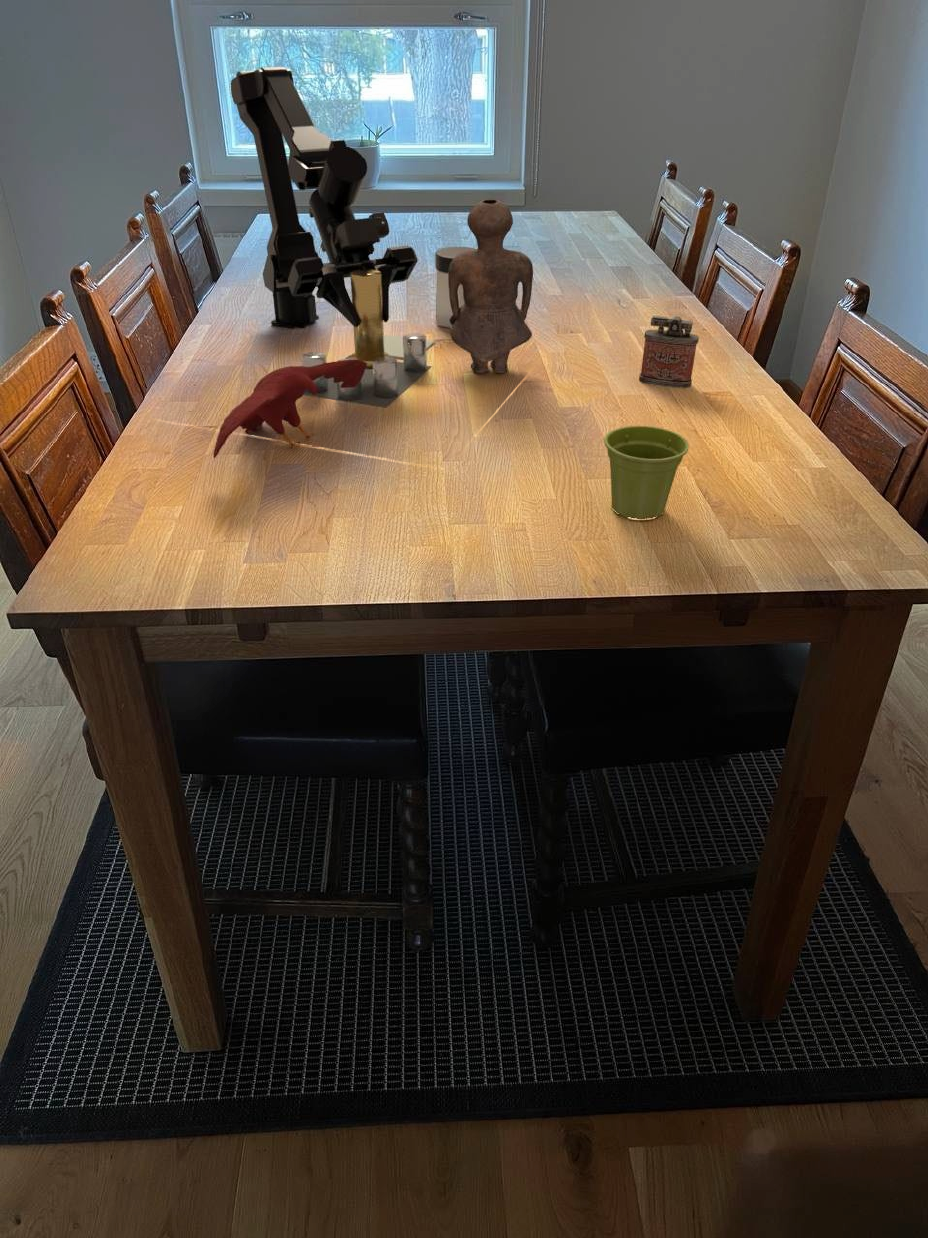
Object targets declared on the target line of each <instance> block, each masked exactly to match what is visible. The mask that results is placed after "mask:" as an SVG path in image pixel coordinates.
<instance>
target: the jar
mask: <svg viewBox="0 0 928 1238" xmlns="http://www.w3.org/2000/svg"><path fill="white" fill-rule="evenodd" d="M477 249H478V248H474V247H467V246H449V247H447V246H446V247H442V248H440V249H437V250H436V251H435V253H434V254H435V255H434V258H435V259H434V260H435V261H434V263H435V265H434V266H435V267H434V268H435V317H436V318H435V319H436V325H437V326H438V327H442V328H447V329H451V327H452V324H451V323H450V318H451V316H452V315H453V313H452V309H451V305H450V298H449V285H448V272H449V266H450V264H451V262H452V260H453V259H454V258H455V257H456V256H457V255H458V254H460V253H463V252H467V251H473V250H477ZM458 299H459V308H460V307H462V306H463V305H464V303H465V302H464V297H463V286H462V284H460V285H459V287H458Z"/></svg>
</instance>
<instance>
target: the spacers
mask: <svg viewBox="0 0 928 1238" xmlns="http://www.w3.org/2000/svg"><path fill="white" fill-rule="evenodd" d="M402 337H403V356H404V359H403V363H404V370H405V371H407V372H412V373H418V372H423V371H425V370H426V369H427V366H428V365H427V363H428V362H427V361H428V359H427V350H426V340H427V336H426V335H425V334H423V333H414V332H413V333H406V334H405V335H403V336H402ZM300 358H301V359H300V360H301V366H305V367H311V366H316V365H320V364H324V363H327V356H326V354H325V353H323V352H317V351H313V352H311V351H310V352H306V353H303V354H302V355H300ZM342 360H355V359H345V358H343V359H339V360H338V361H342ZM397 362H398V358H393V357H378V358H375V359H373V361H372V363H373V383H374V395H375V396H376V397H378V398H393V397H396V396H397V395H398V369H397ZM313 382H314V384H315V385H316V387H317V390H318V391H317V394H319V393H323V392H326V391H327V390H328V379H326V378H324V375H323V376H321V377H319V378H317V379H315V380H313ZM342 383H343V382H339V383H337V395H338V398H339V399H340V400H344V401H343V402H346V401H354V400H358V399H360V398H361V397H362V385H361V380H360V382H359V383H358V384H357V385H356V386H355V387H347V388H341V385H342ZM305 392H307V393H311V392H310V391H308V390H306V391H305ZM340 400H339V401H340Z"/></svg>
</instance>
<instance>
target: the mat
mask: <svg viewBox="0 0 928 1238" xmlns="http://www.w3.org/2000/svg"><path fill="white" fill-rule="evenodd" d="M351 355H352V354H349V355H348V356H346V357H345V358H344V359H351ZM432 367H433V366H432V365H431V366H430V365H427V369H426V370H425V371H423V372H418V373H412V372H407V371H405V370H404V361H403V362H401V361H397V369H398V395H397V396H396V397H393V398H378V397H376V396H375V395H374V383H373V369H365V371H364V374H363V376H362V379H361V385H362V397H361V398H360V399H358V400H354V401H344V400H340V399H339V398H338V395H337V383H334V382H333V381H334V378H329V379H328V390H327V391H326V392H323V393H319V394H317V396H315V395H314V394H312V393H307V392H304V394H303V396H307V397H308V396H309V397H313V398H314V397H315V398H323V399H327V400H335V401H339V402H346V403H353V404H354V403H355V404H359V405H360V404H361V405H367V406H374V407H378V408H379V407H380V408H388V407H389V406H390V405H391V404H392V403H394V401H396V400H397V399H398V398H399V397H400V396H401V395H402V394H403V393H404V392H406V391H407V390H408V389H409V388H410V387H411V386H412V385H413V384H414V383H415V382H417V381H418V380H419V379H420V378H421V377H422V376H423V375H424V374H425V373H427V372H428V371H429V370H430V369H431V368H432Z"/></svg>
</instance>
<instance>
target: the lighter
mask: <svg viewBox="0 0 928 1238" xmlns="http://www.w3.org/2000/svg"><path fill="white" fill-rule="evenodd" d="M693 324H694V322H693V320H687V319H686V320H683V319H682V318H681V317H680V316H677V315H675V316H674V317H672V318H669V317H667V316H659V315H652V317H651V319H650V326H651V327H658V328H657V329H648V330H647V329H646V330H645V331H644V335H643V337H644V346H643V353H642V354H643V355H642V361H641V367H640V368H641V369H640V373H639V375H638V381H639V382H640V383H643V384H647V385H651V384H653V386H657V385H658V387H667V388H672V389H673V388H675V389H677V388H678V389H679V388H680V389H688V388H691V387H692V382H693V378H692V375H693V370H694V363H695V357H696V351H697V344H698V343H699V339H700V338H699V335H697V334H695V333H694V334H693V333H692V329H693ZM665 328H667V329H666V330H665Z"/></svg>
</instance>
